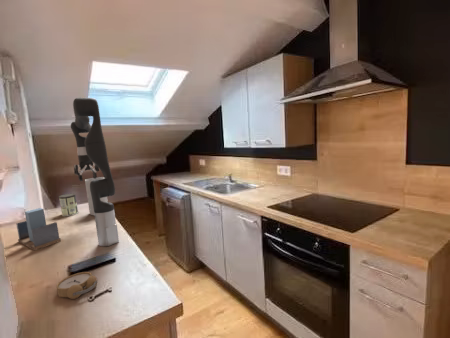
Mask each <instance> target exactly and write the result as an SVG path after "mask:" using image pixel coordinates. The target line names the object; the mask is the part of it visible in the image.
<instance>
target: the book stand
mask: <svg viewBox="0 0 450 338" xmlns="http://www.w3.org/2000/svg"><path fill="white" fill-rule="evenodd" d="M61 240H62V239H61V238H60V237H59V239H57V240H54V241H51V242H48V243H46V244H43V245H40V246H37V247H34V242H32V241H30V238H29V237H27V238H24V239H21V240H20V239H19V238H18V239H17V241H18V243H19V244H21V245H24V246H25V247H28V248H29V249H31V250H34V251H38V250H39V249H42V248H45V247H47V246H51V245H53V244H56V243H59V242H61Z"/></svg>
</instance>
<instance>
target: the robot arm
mask: <svg viewBox="0 0 450 338" xmlns="http://www.w3.org/2000/svg"><path fill="white" fill-rule="evenodd" d="M72 106H73V114H74V117H75V119H74V121H72V122H71V124H70V129H71V131H72V133H73V136H74V138H75V141H76V148H77V149H76V151H77V157H78V158H77V159H78V164H73V173H74V175H75V176H77V178H78V181H80V182H83V173H84V172H86V171H91V172H92V178H94V179H96V178H97V177H98V176H97V172H99V171H100V172H101V173H102V175H103V176H102V177H104V179H99V180H93V181H91V182H90V192H91V196H92V202H93V208H94V215H93V216H94V220H95V221H94V222H95V229H96V234H97V235H96V236H97V241H98V242H97V243H98V246H99V247H100V246H101V247H110V246H112V245H114V244H116V243H119V241H120V239H119V231H118V225H117V222H116V221H117V220H116V213H115V206H114V203H112V202H110V201H109V202H103V201H101V200H100V198H103V197H107V198H108V197H112V196H114V195H115V193H116V185H115V182H114V178H113V175H112V171H111V167H110V164H109V163H110V161H109V157H108V151H107V146H106V141H105V137H104V133H103V128H102V123H101V121H102V120H101V114H100V109H99V108H100V107H99V103H98V100H97V98H95V97H76V98H74V99H73V102H72ZM90 117H92V124H90ZM80 134H87V135H86V136H82V135H80ZM93 166H94V167H93Z"/></svg>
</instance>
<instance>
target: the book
mask: <svg viewBox="0 0 450 338" xmlns="http://www.w3.org/2000/svg"><path fill="white" fill-rule="evenodd" d="M24 215H25V221H26V222H27V227H28V233H29V238H30V241H32V242H33V236H32V231H31V229H34V228H38V227H41V226H44V225H47V221H46V220H47V219H46V216H45V209H44V208H41V207H38V208H33V209H30V210H27V211H24Z"/></svg>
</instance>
